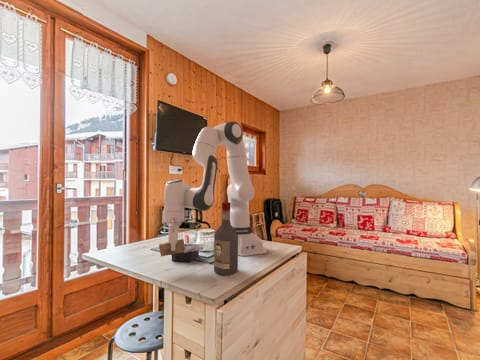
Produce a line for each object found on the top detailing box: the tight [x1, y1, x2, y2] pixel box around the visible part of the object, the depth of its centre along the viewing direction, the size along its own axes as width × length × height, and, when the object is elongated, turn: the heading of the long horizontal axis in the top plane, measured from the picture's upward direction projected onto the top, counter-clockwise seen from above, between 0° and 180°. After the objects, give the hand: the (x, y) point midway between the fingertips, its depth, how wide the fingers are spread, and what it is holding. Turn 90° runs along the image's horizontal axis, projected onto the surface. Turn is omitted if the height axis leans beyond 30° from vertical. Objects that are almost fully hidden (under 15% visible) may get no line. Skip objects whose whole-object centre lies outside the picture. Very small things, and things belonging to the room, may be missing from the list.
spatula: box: [158, 238, 204, 257], centre depth 107 cm, size 18×6×5 cm, turn 98°
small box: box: [171, 243, 200, 263], centre depth 124 cm, size 11×6×10 cm
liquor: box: [213, 201, 239, 277], centre depth 107 cm, size 9×9×30 cm
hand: (173, 248), depth 107 cm, fingers closed on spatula, 3 cm apart
